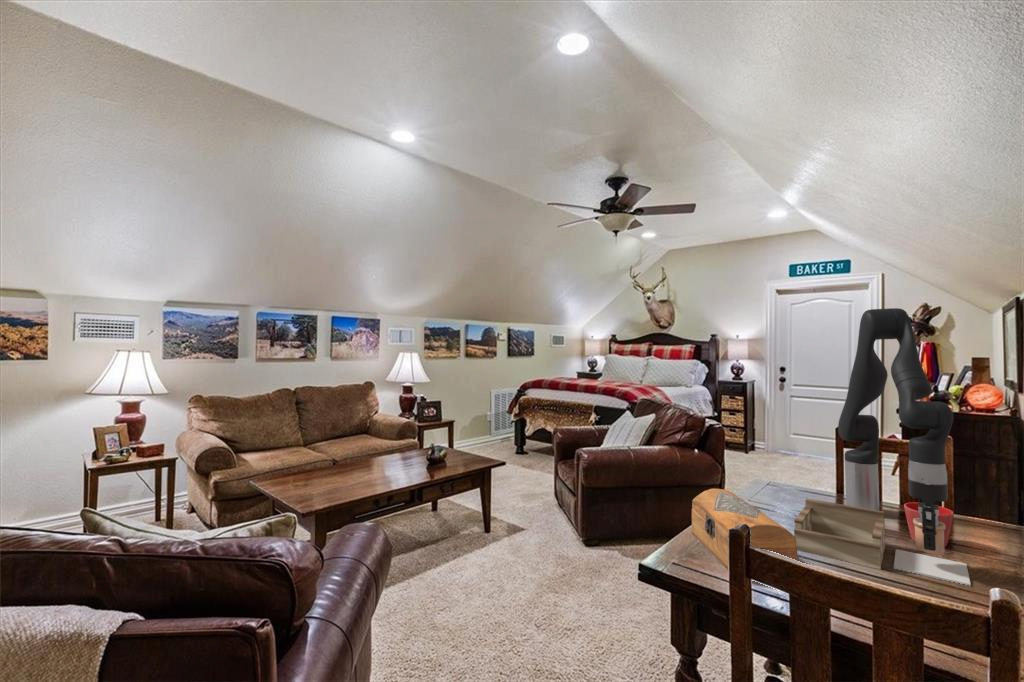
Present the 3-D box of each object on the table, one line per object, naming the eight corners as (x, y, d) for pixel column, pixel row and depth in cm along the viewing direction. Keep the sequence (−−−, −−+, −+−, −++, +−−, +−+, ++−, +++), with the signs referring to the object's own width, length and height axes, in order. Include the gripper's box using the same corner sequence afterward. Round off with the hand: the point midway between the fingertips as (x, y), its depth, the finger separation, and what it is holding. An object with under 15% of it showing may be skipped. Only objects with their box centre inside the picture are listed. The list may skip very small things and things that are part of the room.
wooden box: (688, 533, 144) (687, 488, 145) (742, 533, 144) (741, 488, 144) (730, 580, 114) (728, 523, 115) (799, 581, 114) (797, 523, 114)
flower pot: (965, 550, 130) (963, 515, 130) (919, 548, 132) (918, 513, 132) (938, 536, 140) (937, 503, 140) (896, 533, 142) (895, 501, 142)
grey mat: (896, 550, 130) (895, 549, 130) (966, 565, 121) (966, 563, 121) (893, 568, 119) (893, 566, 119) (970, 586, 110) (970, 584, 110)
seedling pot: (914, 542, 125) (912, 508, 125) (945, 549, 120) (944, 513, 121) (913, 550, 120) (912, 514, 120) (946, 557, 116) (945, 520, 116)
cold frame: (806, 529, 146) (805, 498, 146) (885, 545, 134) (884, 511, 134) (793, 549, 132) (793, 514, 132) (881, 569, 119) (880, 531, 119)
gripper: (908, 471, 129) (910, 534, 128) (907, 482, 118) (909, 551, 117) (946, 476, 124) (948, 541, 123) (948, 488, 113) (951, 559, 112)
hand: (929, 545), depth 120 cm, fingers closed on seedling pot, 5 cm apart
